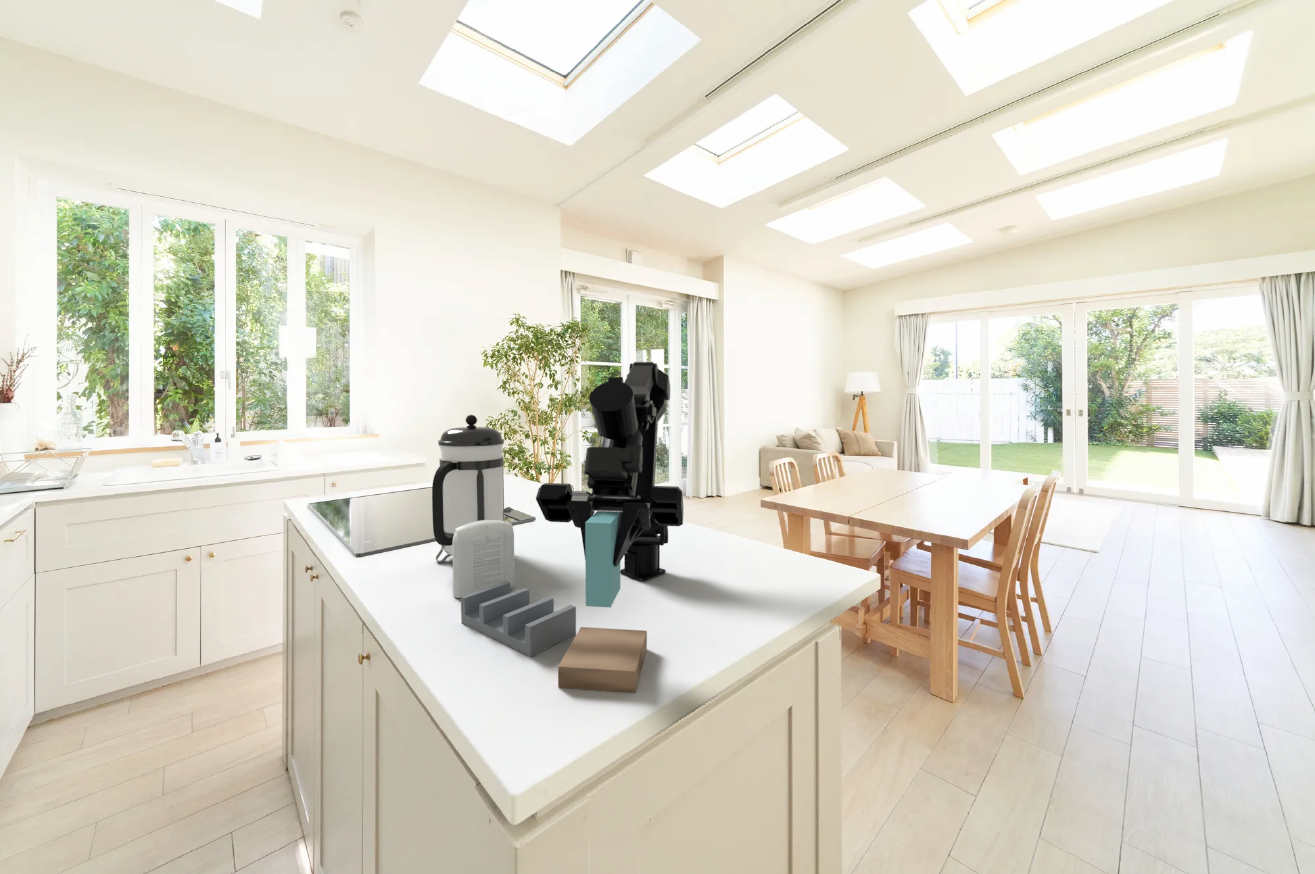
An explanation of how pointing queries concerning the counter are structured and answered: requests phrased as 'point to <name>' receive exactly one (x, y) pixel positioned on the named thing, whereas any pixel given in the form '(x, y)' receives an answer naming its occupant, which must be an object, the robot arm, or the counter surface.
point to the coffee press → (467, 481)
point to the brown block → (603, 660)
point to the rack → (517, 618)
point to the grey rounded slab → (482, 556)
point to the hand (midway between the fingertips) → (601, 564)
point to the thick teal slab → (601, 559)
